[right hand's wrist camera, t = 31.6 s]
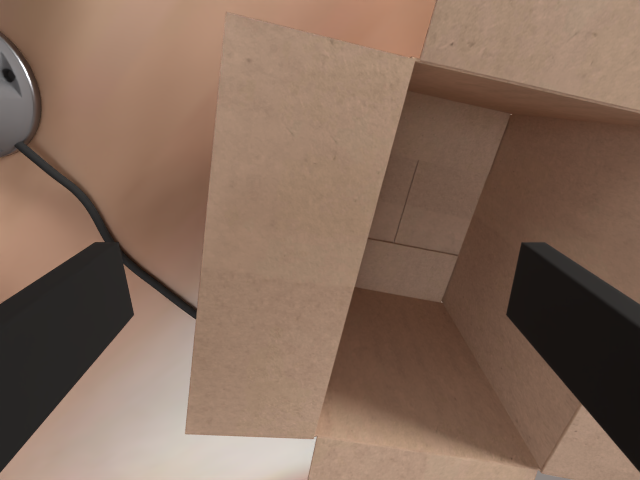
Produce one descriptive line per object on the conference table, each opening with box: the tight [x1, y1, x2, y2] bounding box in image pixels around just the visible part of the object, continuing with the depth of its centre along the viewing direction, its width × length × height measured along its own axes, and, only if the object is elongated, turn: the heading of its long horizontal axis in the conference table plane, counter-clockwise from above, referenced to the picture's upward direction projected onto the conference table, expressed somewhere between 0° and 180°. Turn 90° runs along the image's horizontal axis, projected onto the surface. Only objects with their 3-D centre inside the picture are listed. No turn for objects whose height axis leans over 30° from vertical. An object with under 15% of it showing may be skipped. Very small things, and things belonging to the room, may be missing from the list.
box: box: [185, 0, 640, 480], centre depth 34 cm, size 44×36×27 cm
